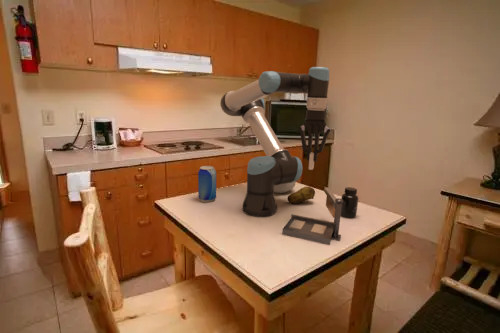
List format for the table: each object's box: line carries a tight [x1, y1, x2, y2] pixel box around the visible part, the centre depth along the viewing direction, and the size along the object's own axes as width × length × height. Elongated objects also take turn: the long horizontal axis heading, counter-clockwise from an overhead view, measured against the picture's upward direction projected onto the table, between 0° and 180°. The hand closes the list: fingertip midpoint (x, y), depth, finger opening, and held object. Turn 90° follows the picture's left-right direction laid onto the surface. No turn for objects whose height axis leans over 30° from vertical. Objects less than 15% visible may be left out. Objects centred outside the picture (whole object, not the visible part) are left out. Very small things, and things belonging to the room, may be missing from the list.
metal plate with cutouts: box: [281, 214, 334, 246], centre depth 106 cm, size 17×12×3 cm
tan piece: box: [323, 186, 337, 218], centre depth 110 cm, size 18×2×7 cm, turn 178°
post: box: [331, 197, 343, 242], centre depth 100 cm, size 4×4×15 cm
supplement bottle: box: [340, 186, 359, 219], centre depth 121 cm, size 7×7×12 cm
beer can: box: [197, 165, 217, 203], centre depth 134 cm, size 8×8×16 cm
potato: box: [287, 186, 316, 204], centre depth 135 cm, size 8×13×8 cm, turn 82°
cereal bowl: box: [274, 181, 297, 194], centre depth 151 cm, size 17×17×7 cm
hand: (311, 168), depth 115 cm, fingers closed
